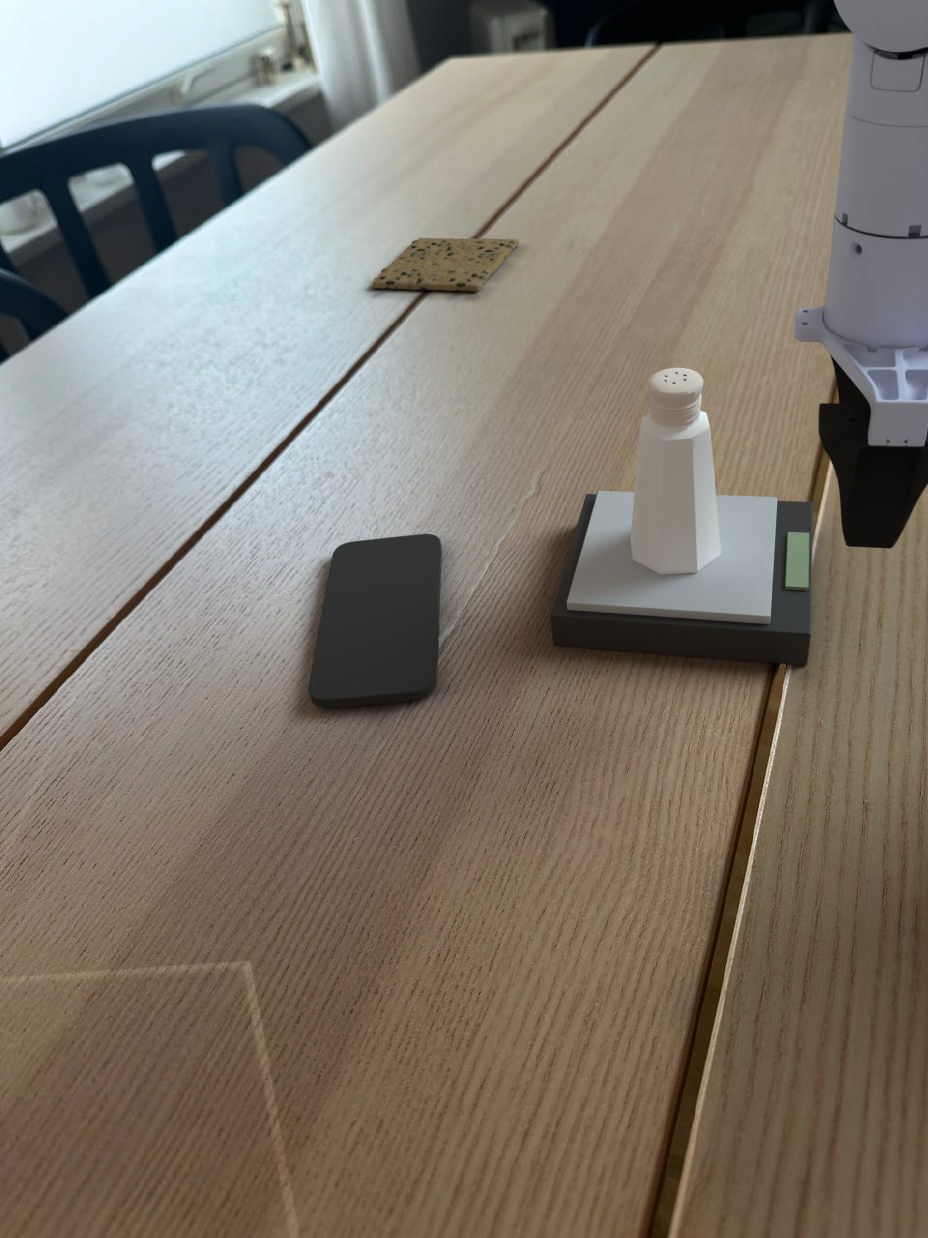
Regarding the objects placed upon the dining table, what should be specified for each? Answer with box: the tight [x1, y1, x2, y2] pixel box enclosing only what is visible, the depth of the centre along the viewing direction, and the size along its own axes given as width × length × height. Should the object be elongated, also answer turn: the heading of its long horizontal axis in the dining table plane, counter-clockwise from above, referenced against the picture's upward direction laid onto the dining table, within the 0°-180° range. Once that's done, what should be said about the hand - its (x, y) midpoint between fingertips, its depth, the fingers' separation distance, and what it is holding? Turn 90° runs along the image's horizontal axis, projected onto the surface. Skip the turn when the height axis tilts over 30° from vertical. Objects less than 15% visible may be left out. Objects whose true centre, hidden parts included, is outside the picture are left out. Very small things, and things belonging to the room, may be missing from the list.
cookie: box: [372, 237, 520, 292], centre depth 101 cm, size 12×12×1 cm
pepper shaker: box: [631, 367, 721, 575], centre depth 54 cm, size 5×5×11 cm
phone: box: [308, 533, 443, 709], centre depth 61 cm, size 7×1×15 cm
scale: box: [549, 490, 814, 667], centre depth 58 cm, size 14×12×3 cm
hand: (866, 494), depth 48 cm, fingers open, 7 cm apart
